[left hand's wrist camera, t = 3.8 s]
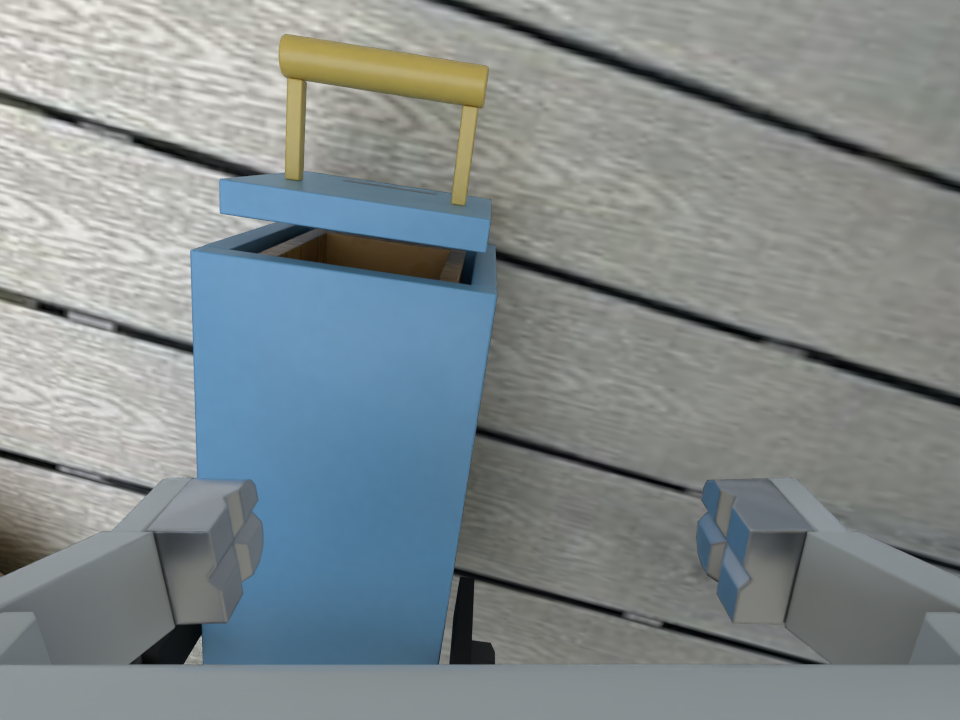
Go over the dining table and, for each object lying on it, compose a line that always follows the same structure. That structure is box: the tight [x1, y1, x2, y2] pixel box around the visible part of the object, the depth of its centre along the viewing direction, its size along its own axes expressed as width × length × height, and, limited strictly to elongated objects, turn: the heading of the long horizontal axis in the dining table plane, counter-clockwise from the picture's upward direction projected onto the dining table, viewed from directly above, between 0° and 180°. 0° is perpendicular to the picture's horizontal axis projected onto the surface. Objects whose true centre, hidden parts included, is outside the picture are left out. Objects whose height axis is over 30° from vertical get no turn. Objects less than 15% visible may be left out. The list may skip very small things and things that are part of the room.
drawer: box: [219, 34, 491, 284], centre depth 27 cm, size 25×10×9 cm, turn 172°
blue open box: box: [190, 222, 497, 665], centre depth 29 cm, size 22×11×11 cm, turn 172°
